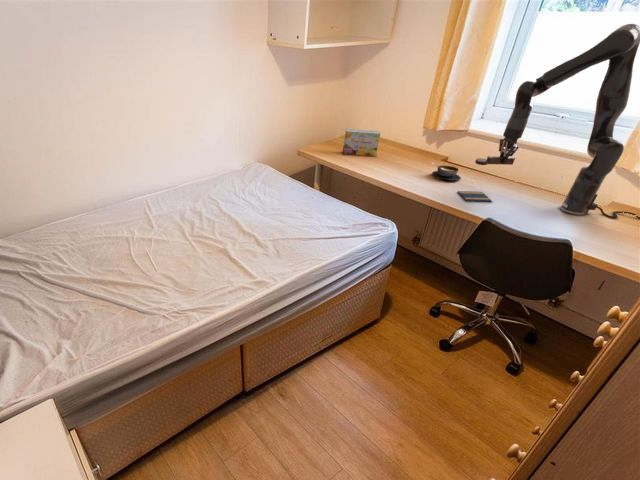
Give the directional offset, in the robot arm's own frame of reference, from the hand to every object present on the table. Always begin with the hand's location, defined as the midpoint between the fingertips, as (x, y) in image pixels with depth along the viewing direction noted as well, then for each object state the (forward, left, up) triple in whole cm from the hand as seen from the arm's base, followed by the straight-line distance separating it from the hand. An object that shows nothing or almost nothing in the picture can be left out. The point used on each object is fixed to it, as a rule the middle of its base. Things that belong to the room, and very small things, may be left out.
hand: (501, 162), depth 188 cm
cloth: (+12, +9, -15) cm, 21 cm away
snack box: (+58, -56, -15) cm, 82 cm away
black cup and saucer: (+17, -18, -15) cm, 29 cm away
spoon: (+4, 0, -1) cm, 4 cm away
